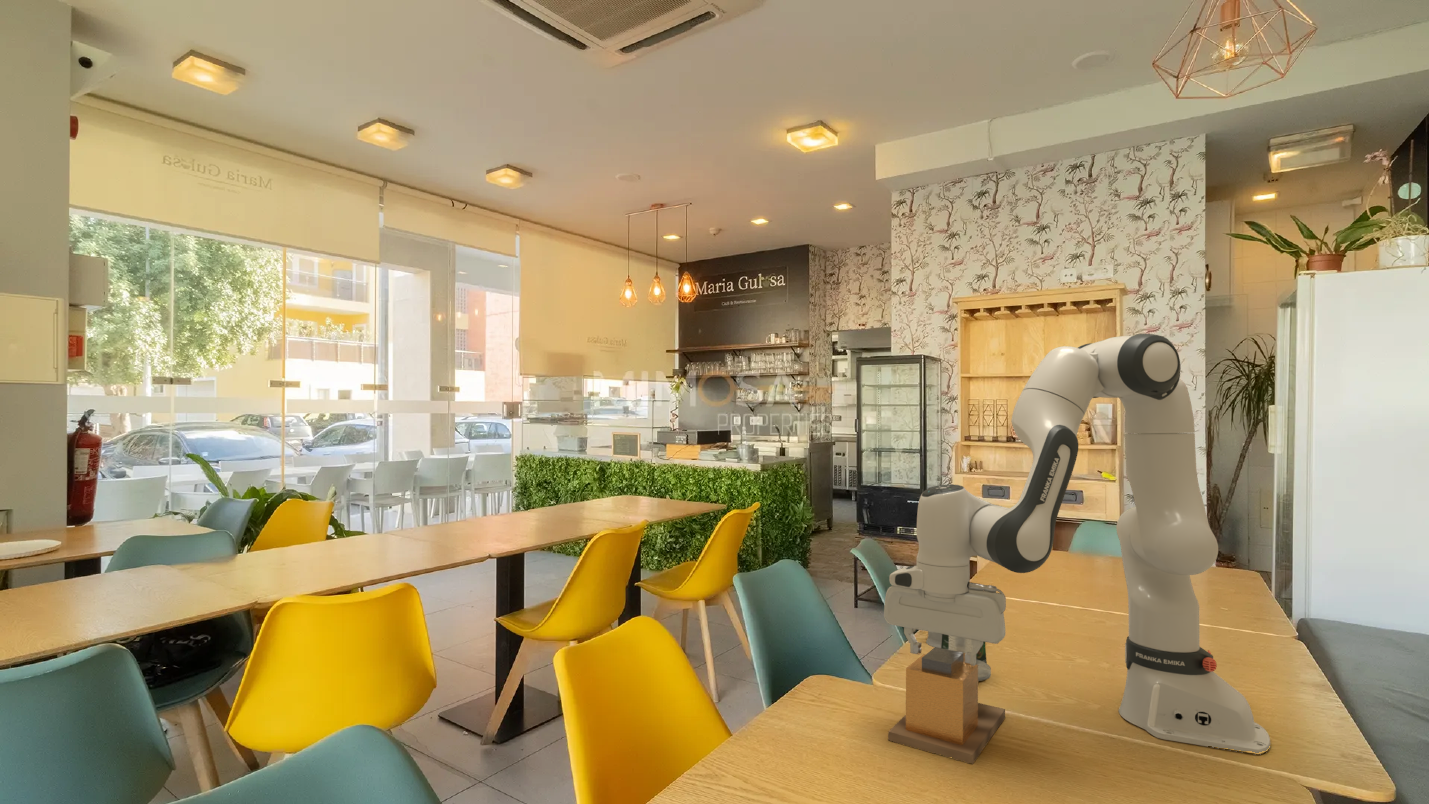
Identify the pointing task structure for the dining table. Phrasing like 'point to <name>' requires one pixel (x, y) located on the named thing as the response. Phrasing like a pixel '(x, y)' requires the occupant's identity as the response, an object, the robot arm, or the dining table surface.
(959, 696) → the wooden slotted box
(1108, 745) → the dining table surface
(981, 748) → the walnut base board
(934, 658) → the grey t-shaped block
